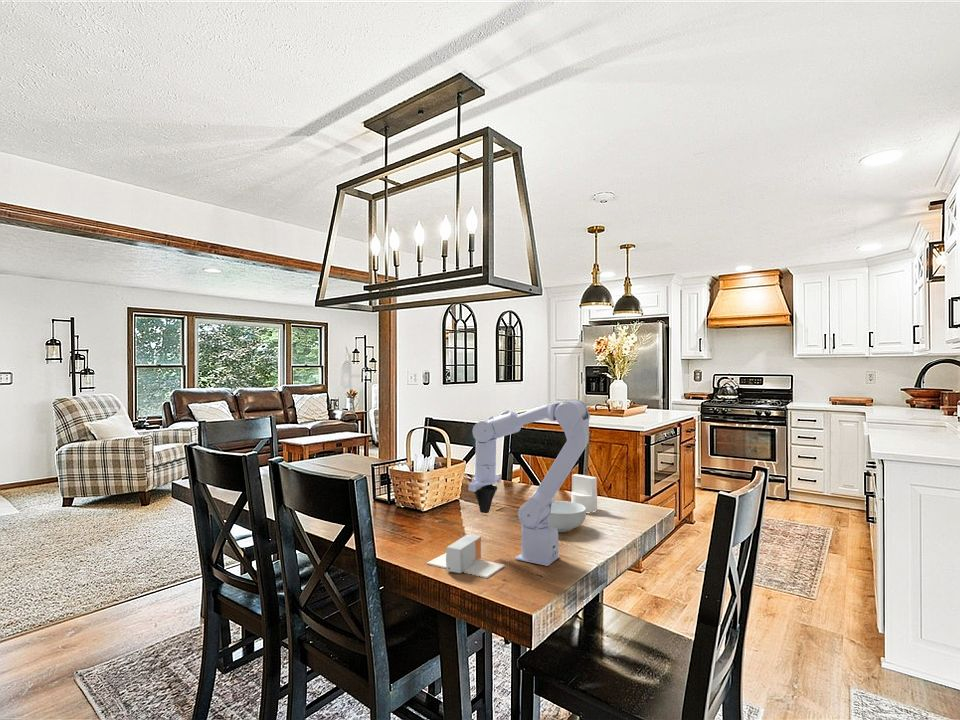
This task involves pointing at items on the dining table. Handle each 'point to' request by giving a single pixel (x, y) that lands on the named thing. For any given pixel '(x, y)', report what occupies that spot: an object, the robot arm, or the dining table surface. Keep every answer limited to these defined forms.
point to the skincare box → (463, 553)
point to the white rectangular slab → (477, 568)
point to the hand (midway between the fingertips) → (484, 512)
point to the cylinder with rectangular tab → (584, 491)
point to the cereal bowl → (566, 515)
